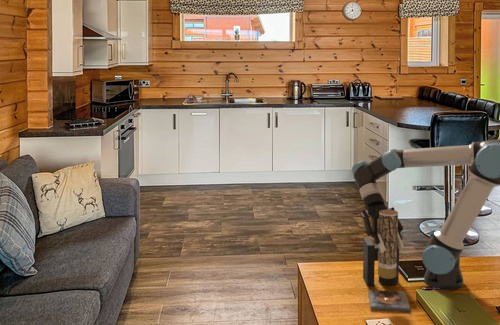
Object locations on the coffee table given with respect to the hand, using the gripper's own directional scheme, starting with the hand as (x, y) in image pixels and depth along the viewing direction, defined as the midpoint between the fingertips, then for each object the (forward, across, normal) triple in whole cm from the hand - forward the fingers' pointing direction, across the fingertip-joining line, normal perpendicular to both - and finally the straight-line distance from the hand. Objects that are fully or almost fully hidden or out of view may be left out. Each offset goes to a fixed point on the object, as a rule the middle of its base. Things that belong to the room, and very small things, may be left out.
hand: (392, 250), depth 180 cm
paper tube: (+6, 0, -11) cm, 12 cm away
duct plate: (+14, 0, -18) cm, 22 cm away
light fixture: (+1, -8, -30) cm, 31 cm away
